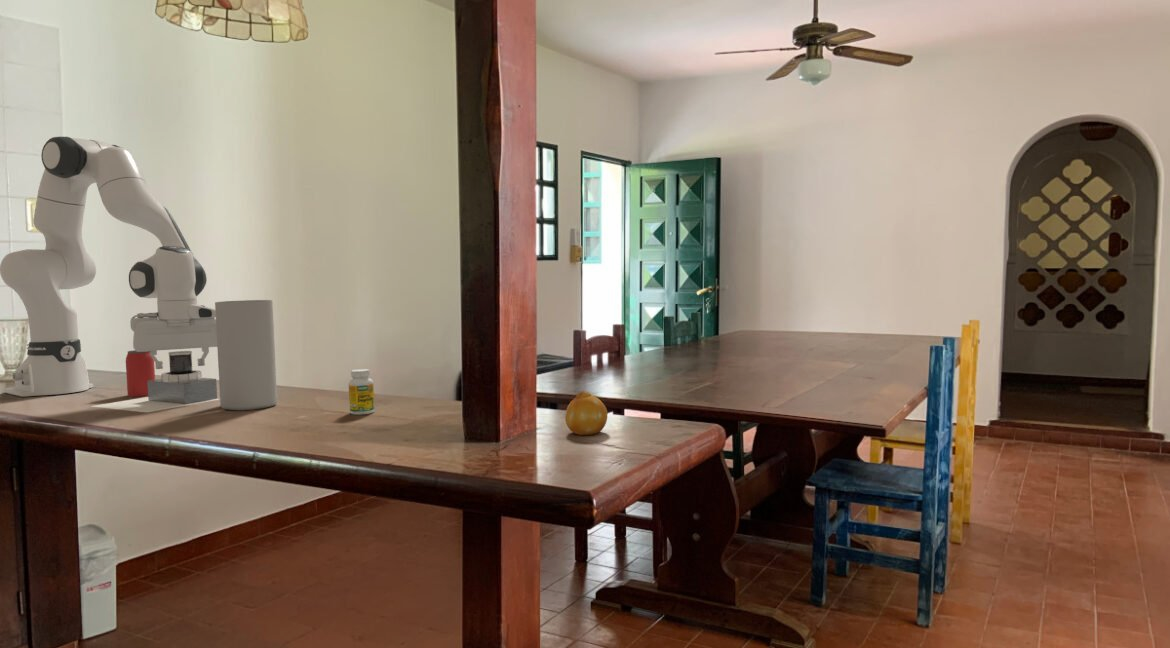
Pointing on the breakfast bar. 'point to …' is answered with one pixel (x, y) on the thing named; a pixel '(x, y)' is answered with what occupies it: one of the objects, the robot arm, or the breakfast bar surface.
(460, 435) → the breakfast bar surface
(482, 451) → the breakfast bar surface
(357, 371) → the supplement bottle
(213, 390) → the camera body
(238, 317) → the cylinder vase
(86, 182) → the robot arm
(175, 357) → the lens
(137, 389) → the beer can
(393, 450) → the breakfast bar surface
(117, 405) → the mat
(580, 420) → the fruit
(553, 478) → the breakfast bar surface
